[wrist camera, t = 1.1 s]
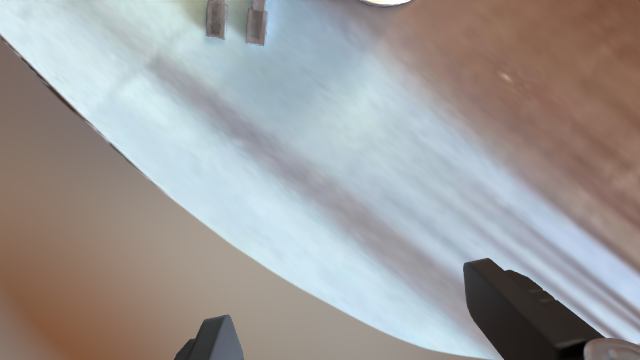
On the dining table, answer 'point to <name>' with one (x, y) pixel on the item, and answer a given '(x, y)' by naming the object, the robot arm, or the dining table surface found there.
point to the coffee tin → (384, 2)
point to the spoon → (257, 23)
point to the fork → (216, 19)
